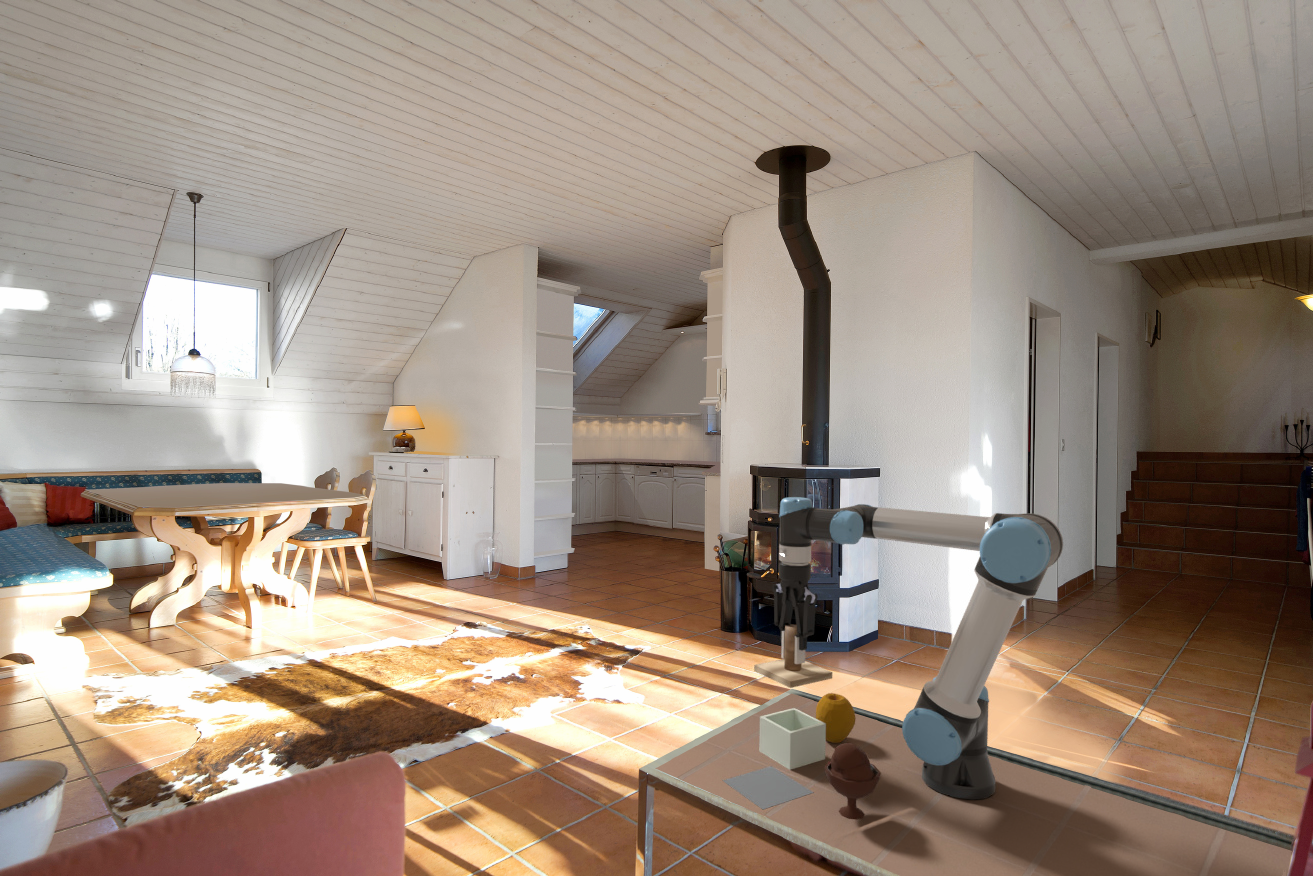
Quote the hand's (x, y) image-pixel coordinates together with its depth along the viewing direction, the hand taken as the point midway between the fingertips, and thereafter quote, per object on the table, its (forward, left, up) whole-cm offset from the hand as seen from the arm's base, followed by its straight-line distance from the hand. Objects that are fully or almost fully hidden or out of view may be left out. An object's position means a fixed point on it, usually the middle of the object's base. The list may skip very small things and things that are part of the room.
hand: (793, 660), depth 175 cm
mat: (-9, +15, -23) cm, 29 cm away
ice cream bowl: (-26, +7, -24) cm, 36 cm away
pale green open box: (0, 0, -23) cm, 23 cm away
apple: (+2, -16, -24) cm, 29 cm away
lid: (0, 0, -4) cm, 4 cm away
